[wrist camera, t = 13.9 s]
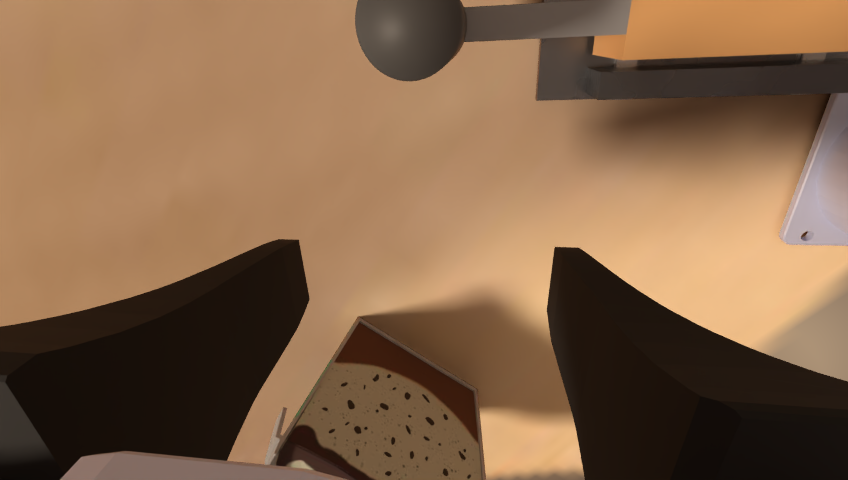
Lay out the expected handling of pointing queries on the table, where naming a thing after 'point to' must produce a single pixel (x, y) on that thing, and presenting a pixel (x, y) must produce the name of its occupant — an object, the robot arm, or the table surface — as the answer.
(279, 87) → the table surface
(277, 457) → the food container
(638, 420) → the robot arm
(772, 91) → the frame
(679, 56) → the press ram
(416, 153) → the table surface
